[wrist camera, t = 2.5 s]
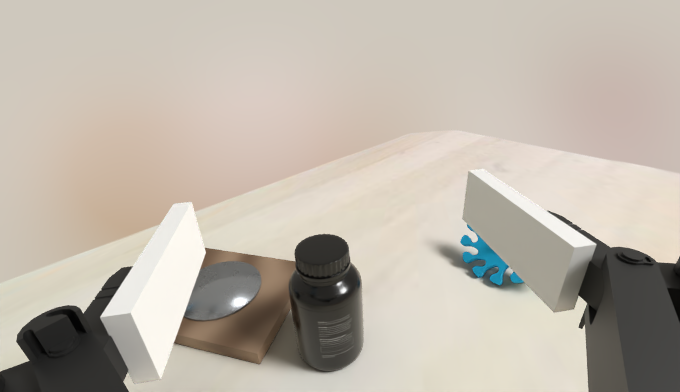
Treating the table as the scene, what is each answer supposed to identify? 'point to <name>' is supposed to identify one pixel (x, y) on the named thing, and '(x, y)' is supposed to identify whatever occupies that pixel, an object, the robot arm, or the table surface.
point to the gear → (487, 260)
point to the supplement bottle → (326, 303)
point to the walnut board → (237, 304)
